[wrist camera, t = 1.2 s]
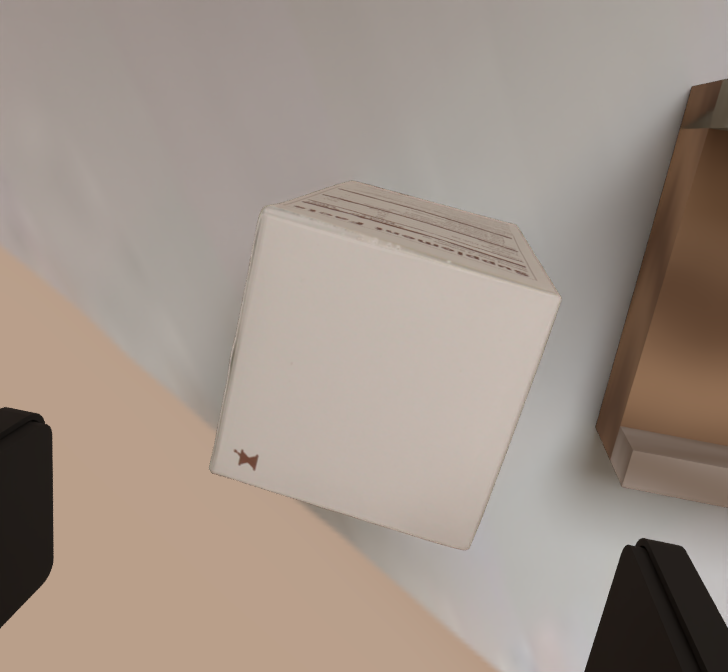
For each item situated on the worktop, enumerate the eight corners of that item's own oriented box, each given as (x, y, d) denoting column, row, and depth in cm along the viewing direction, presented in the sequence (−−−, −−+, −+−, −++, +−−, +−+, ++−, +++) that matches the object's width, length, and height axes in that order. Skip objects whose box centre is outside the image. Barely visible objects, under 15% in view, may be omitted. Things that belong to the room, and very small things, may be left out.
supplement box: (467, 383, 28) (468, 567, 16) (308, 335, 29) (195, 477, 17) (524, 222, 26) (574, 297, 14) (349, 171, 26) (251, 202, 14)
